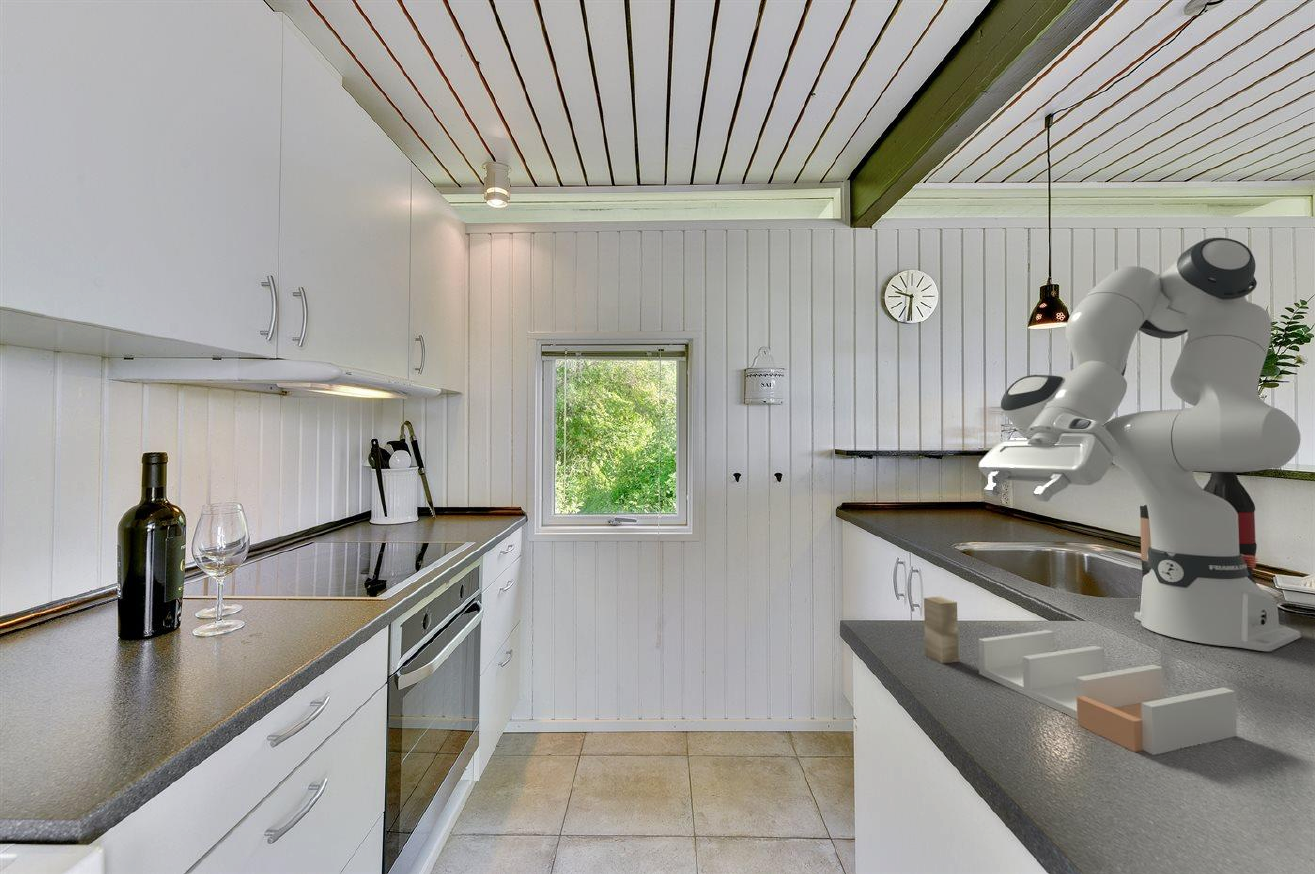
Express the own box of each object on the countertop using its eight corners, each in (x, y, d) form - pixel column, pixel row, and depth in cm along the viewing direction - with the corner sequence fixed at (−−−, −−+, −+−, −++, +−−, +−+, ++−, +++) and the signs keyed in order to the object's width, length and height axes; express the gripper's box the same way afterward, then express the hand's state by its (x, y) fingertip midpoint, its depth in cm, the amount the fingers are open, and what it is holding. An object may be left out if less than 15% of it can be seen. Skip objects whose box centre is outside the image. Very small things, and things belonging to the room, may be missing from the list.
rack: (1048, 663, 82) (1047, 629, 83) (1236, 735, 61) (1234, 690, 61) (972, 674, 79) (971, 639, 79) (1145, 756, 57) (1143, 708, 58)
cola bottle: (1245, 601, 114) (1239, 456, 115) (1269, 612, 106) (1263, 457, 107) (1191, 596, 117) (1186, 457, 118) (1211, 607, 110) (1205, 457, 110)
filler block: (941, 653, 87) (939, 596, 87) (958, 661, 84) (957, 602, 84) (925, 655, 86) (924, 597, 87) (942, 663, 83) (940, 603, 83)
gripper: (995, 426, 103) (953, 480, 101) (1109, 420, 83) (1060, 486, 81) (1015, 450, 104) (974, 503, 101) (1132, 449, 84) (1084, 516, 82)
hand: (1013, 496), depth 91 cm, fingers open, 8 cm apart
